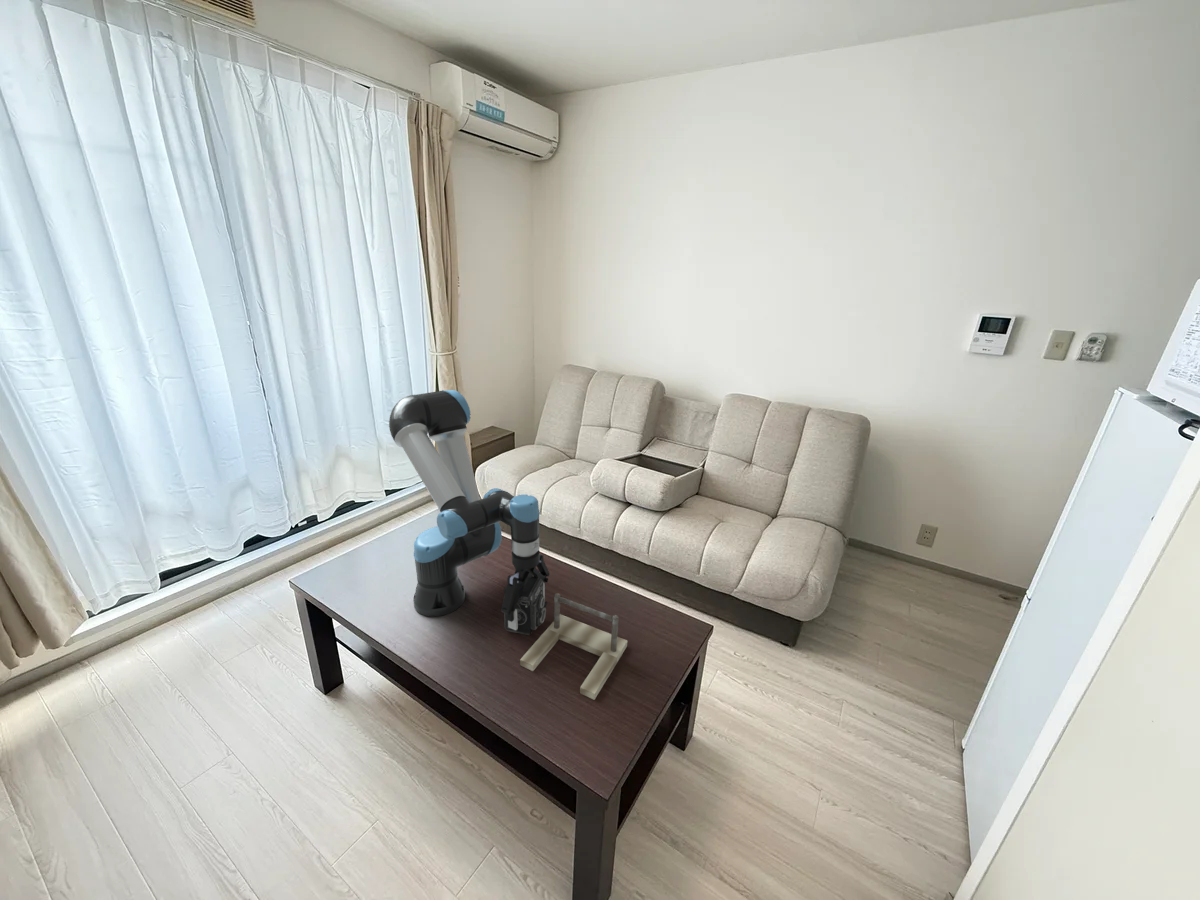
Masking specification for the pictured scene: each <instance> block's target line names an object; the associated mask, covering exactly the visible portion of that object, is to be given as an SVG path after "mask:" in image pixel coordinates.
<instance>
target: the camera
mask: <svg viewBox="0 0 1200 900" xmlns="http://www.w3.org/2000/svg"><path fill="white" fill-rule="evenodd" d="M513 575H515V573H513ZM518 583H521V584H522V583H523V582H521V581H519V580H518ZM506 587H507V585H505V588H504V589H503V593H504V595H505V591H506ZM542 587H543V580H542V579H539V578H538V577H536V576H533V577H532V578H531V579H529V580H528V581H527V583H526V586H525V587H524V588H523V589H522V592H521V595H520V598H519V600H518V603H517V606H516V608H515V609H517V620H518V629H517V630H514V629H511V628H509V627H508V620H507V614H506V613H504V612H503V614H504V615H503V616H504V629H505V631H506V632H507V631H508V632H509V633H510V632H511V633H514V634H515V633H516V634H521V635H527V636H531V635H532V633H533V631H536V630H537V629H538V628H539V626H541V625H542V624H544V621H545V619H546V616H547V613H546V612H547V607H548V606H547V605H548V601H546V600H545V599H546V597H545V598H544V596H543V590H541V589H542Z"/></svg>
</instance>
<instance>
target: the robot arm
mask: <svg viewBox="0 0 1200 900" xmlns="http://www.w3.org/2000/svg"><path fill="white" fill-rule="evenodd" d="M466 399H467V398H465V397H464V396H463V394H461V392H460V391H457V390H455V389H448V390H439V391H438V390H437V391H432V392H426V393H418V394H411V395H410V394H409V395H407V396H404V397H402V398H401V399H400V400H398V401H397V402H396V403H395V404H394V406H393V408H392V410H391V413H390V415H389V420H388V427H389V432H390V435H391V438H392V439H393V441H394V443H395V444H396V445H397V447H400V448H402V449H403V451H404V452H405V454H406V456H407V458H408V459H409V461H410V462H411V464H412V466H413V467H414V469H415V471H416V472H417V474H418V476H419V478H420V479H421V481H422V483H423V485H424V486H425V488H426V490H427V491H428V493H429V495H430V497H431V499H432V500H433V502H434V503H435V505H436V506H437V509H438V511H439V513H438V514H437V517H436V525H437V526H434V527H430V528H427V529H426V530H424V531H422V532H421V533H419V534H418V536H416V539H415V540H414V542H413V543H414V544H413V559H414V565H415V570H416V572H415V573H416V581H417V583H416V587H415V592H414V594H413V595H414V596H413V606H414V609H415V611H416V612H417V613H419V614H420V615H422V616H425V617H426V616H427V617H440V616H445V615H448V614H451V613H453V612H455V611H456V610H458V609H459V608H460V607H461V606H462V605H463V604H464V602H465V599H466V590H465V587H464V585H463V582H462V581H461V579H460V577H459V575H458V568H459V567H462V566H463V565H466V564H468V563H471V562H473V561H475V560H478V559H481V558H482V557H486V556H488V555H490V554H492V553H493V552H496V551H497V550H498V549H499V548H500V545H501V543H502V538H503V537H502V534H503V533H502V527H501V526H500V522H502V523H504V524H506V525H507V526H509V527H510V537H511V538H510V540H511V541H510V542H511V543H510V546H511V563H512V565H513V567H514V569H515V570H514V574H515V575H514V574H512V575H508V576H507V580H506V582H507V583H506V586H507V587H506V586H505V587H506V591H505V594H504V597H503V600H502V603H501V609H500V612H501V613H503V614H504V613H506V614H507V620H508V627H509V628H511V629H514V630H517V629H518V620H517V609H515V608H516V606H517V603H518V600H519V598H520V595H521V592H522V589H523V588H524V587H525V586H526V583H527V581H528V580H529V579H531V578H532V577H533V576H536V577H538V578H539V579H542V580H543V587H542V589H541V590H543V596H544V598H545V599H546V596H545V595H546V594H545V592H546V591H545V590H546V583H548V582H549V578H548V577H550V571H549V569H548V567H547V565H546V563H545V562H546V561H545V560H544V555H543V554H540V507H539V500H538V499H537V497H536V496H534V495H532V494H530V495H528V494H517V495H516V496H515V495H512V494H511V493H510V492H508V491H507V490H503V489H501V488H498V487H497V488H491V489H489V490H488V491H487V492H485V494H484V495H483V497H482V498H481V497H480V494H479V493H480V492H479V489H478V484H477V482H476V477H475V473H474V469H473V465H472V462H471V458H470V455H469V451H468V448H467V444H466V440H465V437H464V436H465V434H466V432H467V430H468V427H467V425H468V424H469V422H470V421H471V410H470V405H469V403H468V401H467V400H466ZM432 441H433V442H435V444H436V447H437V448H436V447H435V446H434V444H433V442H432ZM518 580H519V581H521V582H523V583H522V584H521V583H518Z"/></svg>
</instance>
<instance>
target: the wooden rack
mask: <svg viewBox="0 0 1200 900" xmlns="http://www.w3.org/2000/svg"><path fill="white" fill-rule="evenodd" d="M553 599H554V600H553V601H554V602H553V603H554V604H553V608H554V609H553V610H554V611H553V621H552V622H551V623H550V625H549V626H548V627H547V629H546V630H545V631H543V633H541V635H540V636H539V637H538V639H537V640H536V641H535V642H534V643H533V645H531V646H530V647H529V648H528V650H527V651H526V652H525V653H524V654H523V656H522V657H521V658H520V659H519V666H520V667H523V668H525V669H527V670H528V671H529V670H530V671H531V672H534V671H535V669H536V668H537V667H538V666H539V665H540V663H541V662H542V661H543V660H544V659H545V657H546V656H547V655H548V654H549V652H550V651H551V650H552V649H553V647H554V646H555V645H556V644H557V642H558V641H559V640H560V641H563V642H565V643H567V644H569V645H572V646H574V647H577V648H579V649H581V650H584V651H586V652H587V653H588V652H589V653H591V654H593V655H596V656H597V657H599V658H598V660H597V662H596V663H595V664H594V665H593V667H592V669H591V671H590V672H589V674H588V675H587V676H586V678H585V679H584V681H583V682H582V684H581V685H580V687H579V688H580V689H579V693H580V695H583V696H585V697H587V698H589V699H591V700H594V701H595V700H596V698H597V696H598V695H599V694H600V692H601V690H602V689H603V687H604V685H605V684H606V681H607V680H608V678H609V677H610V676H611V673H612V672H613V670H614V669H615V667H616V665H617V664H618V662H619V660H620V659H621V657H622V656H623V653H625V650H626V649H627V647H628V640H627V639H624V638H621V637H620V636H618V633H619V632H618V631H619V615H617V614H614V615H610V614H609V613H605V612H603V611H600V610H597V609H594V608H592V607H590V606H587V605H584V604H582V603H579V602H576V601H574V600H571V599H569V598H568V599H567V598H565V597H562V596H561V594H560V593H559V592H557V593H554V597H553ZM561 604H564V605H567V606H569V607H572V608H575V609H577V610H579V611H582V612H585V613H587V614H590V615H592V616H596V617H598V618H600V619H603V620H606V621H609V622H612V623H611V633H609V632H608V631H604V630H602V629H600V628H597V627H594V626H592V625H589V624H586V623H584V622H581V621H579V620H577V619H573V618H571V617H569V616H565V615H563V614H561V612H560V611H561Z"/></svg>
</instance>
